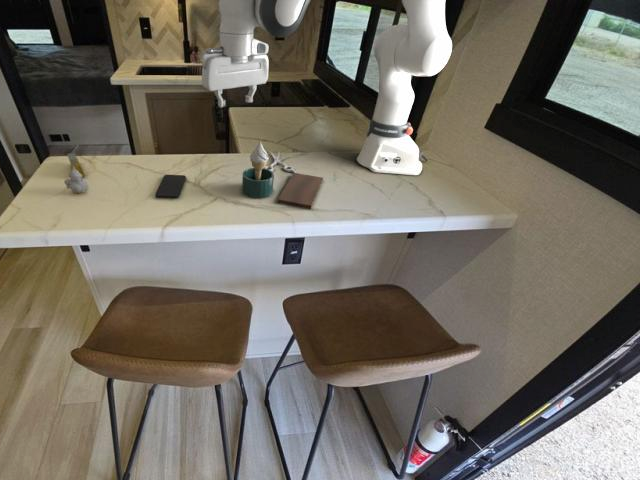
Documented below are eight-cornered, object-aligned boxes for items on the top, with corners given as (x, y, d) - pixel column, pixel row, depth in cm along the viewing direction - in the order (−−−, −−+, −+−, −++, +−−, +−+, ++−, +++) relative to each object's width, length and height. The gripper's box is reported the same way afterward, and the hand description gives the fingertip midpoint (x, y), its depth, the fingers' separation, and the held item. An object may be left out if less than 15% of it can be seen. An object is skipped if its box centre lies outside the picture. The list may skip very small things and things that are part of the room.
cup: (275, 187, 108) (277, 170, 105) (267, 200, 102) (268, 183, 98) (247, 182, 111) (248, 165, 107) (237, 195, 104) (238, 177, 100)
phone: (186, 175, 112) (178, 196, 101) (186, 177, 112) (179, 199, 101) (164, 174, 112) (154, 195, 101) (164, 176, 112) (154, 198, 101)
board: (322, 180, 112) (323, 177, 112) (310, 209, 99) (311, 205, 98) (293, 176, 115) (293, 172, 114) (277, 203, 101) (278, 199, 100)
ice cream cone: (245, 188, 107) (247, 138, 97) (261, 185, 109) (264, 136, 98) (252, 195, 103) (255, 145, 93) (269, 192, 105) (273, 142, 95)
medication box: (71, 165, 118) (66, 153, 115) (79, 163, 118) (74, 151, 116) (76, 178, 110) (71, 166, 107) (85, 175, 111) (80, 163, 108)
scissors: (265, 171, 115) (260, 149, 129) (265, 174, 115) (260, 151, 129) (296, 172, 115) (288, 149, 129) (296, 174, 116) (288, 151, 130)
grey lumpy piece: (87, 196, 102) (78, 170, 96) (65, 196, 102) (55, 170, 96) (92, 187, 106) (84, 162, 100) (70, 187, 106) (61, 162, 100)
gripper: (207, 50, 83) (210, 112, 93) (273, 45, 92) (269, 102, 101) (195, 46, 87) (199, 106, 97) (260, 42, 95) (257, 97, 105)
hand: (235, 104), depth 99 cm, fingers open, 8 cm apart
